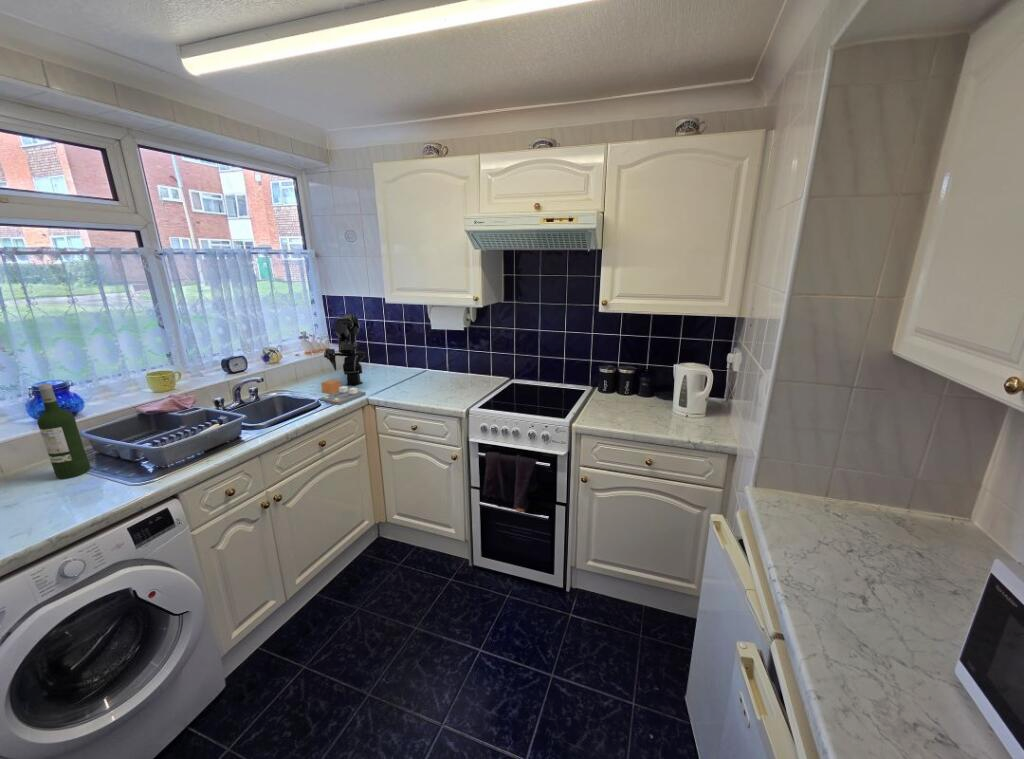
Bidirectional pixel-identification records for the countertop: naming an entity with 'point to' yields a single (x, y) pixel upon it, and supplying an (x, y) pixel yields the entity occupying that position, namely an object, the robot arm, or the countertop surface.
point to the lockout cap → (330, 386)
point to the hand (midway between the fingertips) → (345, 370)
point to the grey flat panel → (341, 397)
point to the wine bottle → (61, 437)
